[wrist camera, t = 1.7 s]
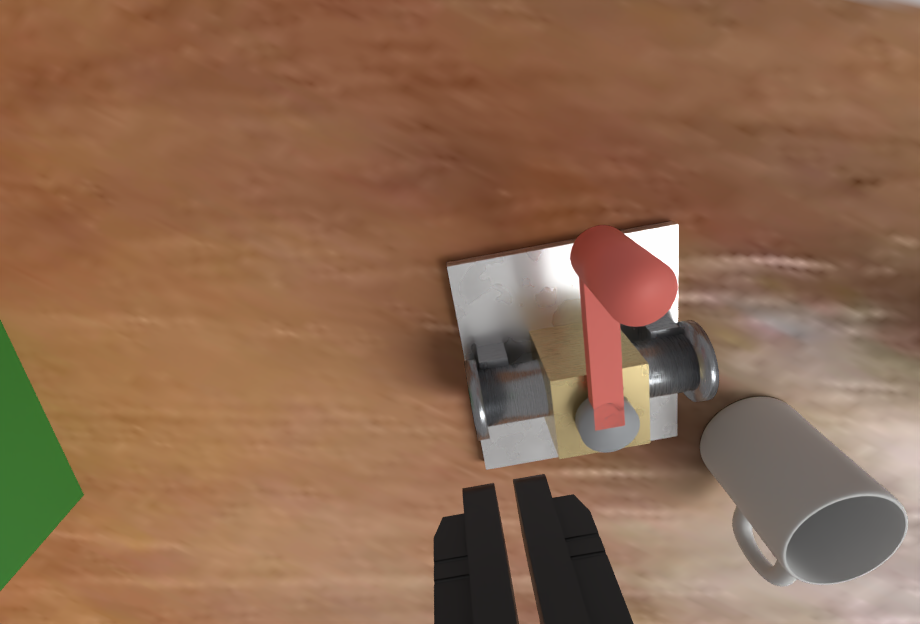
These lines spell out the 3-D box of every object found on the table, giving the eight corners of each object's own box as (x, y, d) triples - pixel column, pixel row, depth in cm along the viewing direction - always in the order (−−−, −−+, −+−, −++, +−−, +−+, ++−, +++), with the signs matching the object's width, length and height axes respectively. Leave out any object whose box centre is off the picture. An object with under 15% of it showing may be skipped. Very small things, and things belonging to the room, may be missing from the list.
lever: (633, 434, 31) (682, 516, 25) (577, 444, 32) (612, 528, 25) (624, 213, 26) (685, 250, 20) (556, 226, 26) (595, 266, 20)
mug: (720, 389, 41) (815, 485, 31) (814, 401, 42) (936, 498, 32) (671, 500, 45) (740, 616, 35) (756, 509, 46) (847, 624, 36)
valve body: (671, 220, 35) (736, 254, 27) (671, 428, 42) (723, 498, 35) (446, 262, 35) (450, 306, 28) (485, 461, 42) (496, 538, 35)
